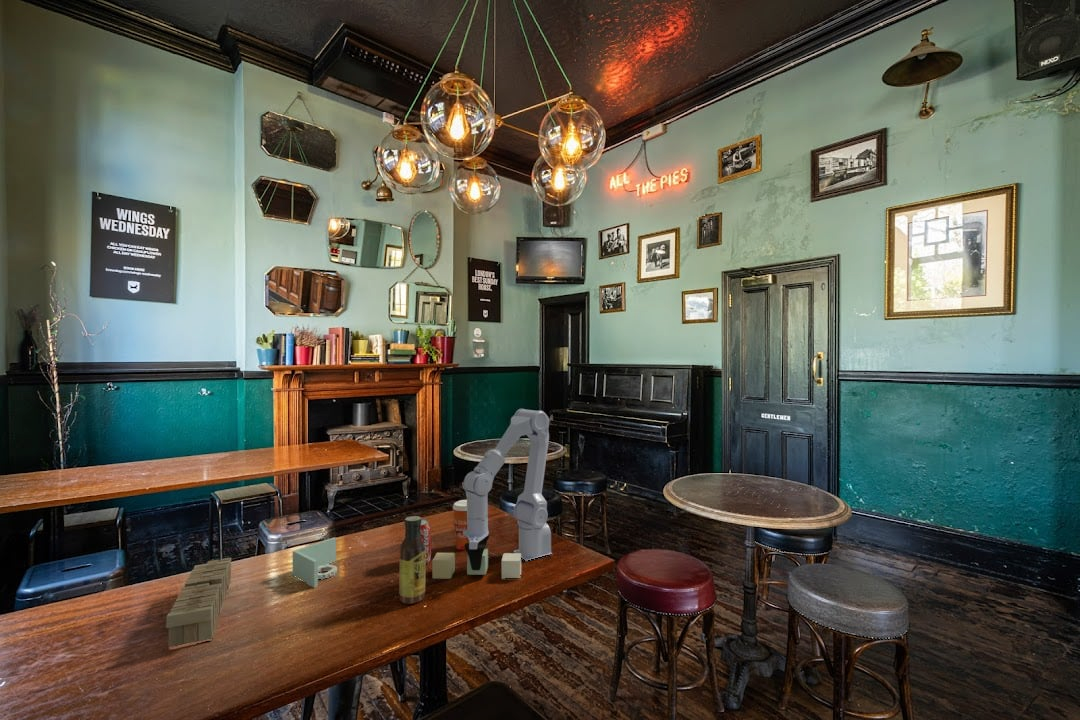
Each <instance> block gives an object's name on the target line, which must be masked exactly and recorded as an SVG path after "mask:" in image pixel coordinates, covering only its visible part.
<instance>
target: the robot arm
mask: <svg viewBox="0 0 1080 720" xmlns="http://www.w3.org/2000/svg"><path fill="white" fill-rule="evenodd" d="M550 420H551V419H550V418H549V416H548V415H547V414H546V412H544V411H543V410H532V409H525V408H519V409H518V410H516V411H515V413H514V415H512V416H511V418H510V424H509V426H508V427H507V428H506V431H505V432H504V433H503V435H502V436H501V438H500V440H499V441H498V443H497V444H496V446H495V448H493V449H489V450H487V451H486V452H485V453H484V454H483V457H482V459H481V460H480V461H479V463H478V464H477V465H476V466H475V467H474V468H473V471H472V470H471V471H470V472H468V473H467V474H466V476H465V477H464V479H463V482H461V484H462V485H461V486H462V488H463V490H464V491H465V496H466V500H467V531H463V535H464V536H467V538H468V540H469V543H466V544H465V550H464V551H466V553H467V555H468V556H469V559H470V564H471V568H472V570H480V567H481V561H482V555H483V551H484V549H487V548H486V547H487V543H488V541H489V538H490V536H491V534H490V533H489V532H490V531H489V527H488V526H489V521H488V520H489V517H488V516H489V515H488V514H489V508H488V507H489V501H488V500H489V499H488V496H489V495H488V494H489V492H490V491H491V490H492V488H493V482H494V479H495V476H496V475H497V474H498V472H499V471H500V470H501V468H502V467H503V466H504V464H505V462H506V460H505V457H506V456H505V455H506V454H507V453H508V452H509V451H510V450H511V448H513V446H514V445H515V444H516V443H517V441H518V440H519V439H520V437H522V436H527V438H528V439H529V440H530V445H529V452H528V453H529V454H528V458H527V459H528V460H527V466H526V467H527V468H526V474H525V480H524V481H525V482H524V489H523V492H521V494H519V495H518V496H517V501H516V503H515V505H514V508H513V517H514V518H515V520H517V525H518V549H515V550H513V553H521V558H522V559H521V560H523V559H524V560H525V561H524V560H523V561H524V562H529V561H528V560H530V561H532V560H531V559H534V560H536V559H535V558H538V557H542V556H545V555H550V554H552V555H553V553H552V532H551V528H550V526H549V524H548V523H547V521H548V515H549V514H548V509H547V507H548V506H547V505H548V502H547V500H546V499H545V497H544V496H543V494H542V493H543V486H544V479H545V471H546V465H547V464H546V462H547V457H548V448H549V440H550V433H549V427H550ZM550 556H551V555H550ZM542 558H543V557H542ZM538 559H539V558H538Z"/></svg>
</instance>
